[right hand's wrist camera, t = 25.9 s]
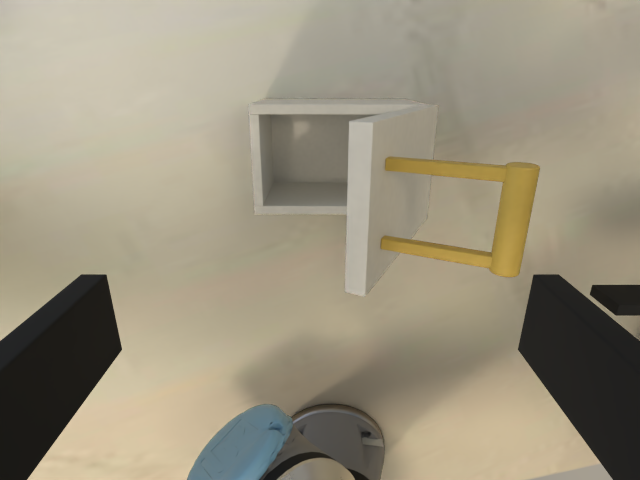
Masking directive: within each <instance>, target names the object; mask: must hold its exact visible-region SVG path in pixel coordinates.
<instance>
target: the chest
mask: <svg viewBox="0 0 640 480" xmlns="http://www.w3.org/2000/svg"><path fill="white" fill-rule="evenodd" d="M419 105H428V104H425V103H420V102H416V101H412V100H408V99H262V100H259V101H256V102H253V103H251V104H248V110H249V127H250V144H251V161H252V178H253V195H254V212H255V215H347V187H348V148H349V121H352V120H357V119H361V118H366V117H370V116H375V115H379V114H384V113H388V112H392V111H397V110H401V109H406V108H410V107H415V106H419Z"/></svg>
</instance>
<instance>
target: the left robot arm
mask: <svg viewBox="0 0 640 480" xmlns="http://www.w3.org/2000/svg"><path fill="white" fill-rule="evenodd" d="M590 295H591V296H592V297H593V298H595V299H596V300H597V301H598V302H600V303H601V304H602V305H604V306H605V307H606V308H607V309H609V310H610V311H611V312H612V313H614V314H615V315H640V285H592V289H591V292H590ZM384 452H385V449H384V442H383V437H382V433H381V431H380V429H379V427H378V425H377V424H376V423H375V421H374V420H373V419H372V418H371V417H369V416H368V415H367V414H365V413H364V412H362V411H360V410H358V409H355V408H353V407H349V406H345V405H339V404H324V405H318V406H314V407H310V408H307V409H305V410H303V411H301V412H299V413H297V414H296V415H295V416H293V417H292V418H291V417H290V416H288V415H286V414H285V413H284V412H283V411H282V410H281V409H280V408H279V407H277V406H275V405H270V404H264V405H259V406H255V407H253V408H250V409H248V410H247V411H245V412H244V413H241V414H240V415H238V416H236V417H235V418H234V419H232V420H231V421H230V422H229V423H227V424H226V425H225V426H224V427H223V428H222V429H221V430H220V431H219V432H218V433H217V434H216V435H215V436H214V437H213V438H212V439H211V440H210V441H209V443H208V444H207V445H206V446H205V448H204V449H203V450H202V452H201V453H200V455H199V456H198V458H197V459H196V461H195V463H194V466H193V467H192V469H191V471H190V473H189V475H188V478H187V480H380V478H381V473H382V468H383V463H384Z"/></svg>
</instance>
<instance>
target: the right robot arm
mask: <svg viewBox="0 0 640 480" xmlns="http://www.w3.org/2000/svg"><path fill="white" fill-rule="evenodd" d="M121 350H122V347H121V343H120V338H119V333H118V328H117V323H116V319H115V314H114V309H113V304H112V299H111V295H110V290H109V285H108V280H107V275H80V276H79V277H78V278H77V279H75V280H74V281H73V282H72V283H71V284H69V285H68V286H67V287H66V288H64V289H63V290H62V291H61V292H60V293H58V294H57V295H56V296H55V297H54V298H52V299H51V300H50V301H49V302H47V303H46V304H45V305H44V306H43V307H41V308H40V309H39V310H38V311H36V312H35V313H34V314H33V315H32V316H30V317H29V318H28V319H27V320H26V321H24V322H23V323H22V324H21V325H19V326H18V327H17V328H16V329H15V330H13V331H12V332H11V333H10V334H8V335H7V336H6V337H5V338H4V339H2V340H1V341H0V480H27V479H28V477H29V476H30V475H31V473H32V472H33V471H34V469H35V468H36V466H37V465H38V464H39V462H40V461H41V460H42V458H43V457H44V456H45V454H46V453H47V451H48V450H49V449H50V447H51V446H52V445H53V443H54V442H55V441H56V439H57V438H58V436H59V435H60V434H61V432H62V431H63V430H64V428H65V427H66V425H67V424H68V423H69V421H70V420H71V419H72V417H73V416H74V415H75V413H76V412H77V410H78V409H79V408H80V406H81V405H82V404H83V402H84V401H85V399H86V398H87V397H88V395H89V394H90V393H91V391H92V390H93V389H94V387H95V386H96V384H97V383H98V382H99V380H100V379H101V378H102V376H103V375H104V373H105V372H106V371H107V369H108V368H109V367H110V365H111V364H112V363H113V361H114V360H115V358H116V357H117V356H118V354H119V353H120V352H121ZM518 350H519V352H520V353H521V354H522V356H523V357H524V358H525V360H526V361H527V363H528V364H529V365H530V367H531V368H532V369H533V371H534V372H535V373H536V375H537V376H538V378H539V379H540V380H541V382H542V383H543V384H544V386H545V387H546V389H547V390H548V391H549V393H550V394H551V395H552V397H553V398H554V399H555V401H556V402H557V404H558V405H559V406H560V408H561V409H562V410H563V412H564V413H565V415H566V416H567V417H568V419H569V420H570V421H571V423H572V424H573V425H574V427H575V428H576V430H577V431H578V432H579V434H580V435H581V436H582V438H583V439H584V441H585V442H586V443H587V445H588V446H589V447H590V449H591V450H592V451H593V453H594V454H595V456H596V457H597V458H598V460H599V461H600V462H601V464H602V465H603V466H604V468H605V469H606V471H607V472H608V473H609V475H610V476H611V477H612V479H613V480H640V341H639V340H638V339H636V338H635V337H634V336H633V335H632V334H630V333H629V332H628V331H627V330H625V329H624V328H623V327H622V326H621V325H619V324H618V323H617V322H616V321H614V320H613V319H612V318H611V317H610V316H608V315H607V314H606V313H605V312H604V311H602V310H601V309H600V308H599V307H597V306H596V305H595V304H594V303H593V302H591V301H590V300H589V299H588V298H586V297H585V296H584V295H583V294H582V293H580V292H579V291H578V290H577V289H576V288H574V287H573V286H572V285H571V284H569V283H568V282H567V281H566V280H565V279H563V278H562V277H561V276H560V275H533V280H532V285H531V290H530V295H529V299H528V304H527V309H526V314H525V319H524V323H523V328H522V333H521V338H520V343H519V347H518Z"/></svg>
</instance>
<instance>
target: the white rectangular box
mask: <svg viewBox="0 0 640 480" xmlns="http://www.w3.org/2000/svg"><path fill="white" fill-rule="evenodd" d="M438 107H439V105H419V106H415V107H410V108H406V109H401V110H397V111H392V112H388V113H384V114H379V115H375V116H370V117H366V118H361V119H357V120H352V121H349V148H348V187H347V226H346V265H345V292H346V293H350V294H355V295H359V296H363V297H365V296H366V295H367V294H368V293H369V291H370V290H371V289H372V288H373V286H374V285H375V284H376V283H377V281H378V280H379V279H380V277H381V276H382V275H383V274H384V272H385V271H386V270H387V269H388V267H389V266H390V265H391V264H392V262H393V261H394V260H395V258H396V257H397V256H398V255H399V253H406V254H411V255H417V256H423V257H428V258H434V259H440V260H445V261H451V262H457V263H462V264H468V265H473V266H479V267H485V268H489V270H490V271H491V272H492V273H494V274H496V275H499V276H503V277H515V276H517V275H518V274H519V273H520V267H521V262H522V257H523V252H524V247H525V242H526V237H527V232H528V226H529V221H530V216H531V211H532V206H533V201H534V196H535V191H536V186H537V180H538V175H539V170H540V167H539V166H538V165H535V164H531V163H521V162H513V163H508V164H506V166H504V165H491V164H479V163H466V162H454V161H442V160H433V156H434V147H435V137H436V127H437V117H438ZM432 175H437V176H447V177H458V178H468V179H479V180H489V181H500V182H503V186H502V192H501V198H500V204H499V210H498V216H497V222H496V228H495V234H494V240H493V246H492V253H491V252H485V251H478V250H472V249H466V248H460V247H454V246H448V245H441V244H435V243H429V242H423V241H417V240H411V238H412V237H413V236H414V234H415V233H416V232H417V231H418V229H419V228H420V227H421V226H422V224H423V223H424V222H425V220H426V219H427V216H428V206H429V196H430V186H431V176H432Z"/></svg>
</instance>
